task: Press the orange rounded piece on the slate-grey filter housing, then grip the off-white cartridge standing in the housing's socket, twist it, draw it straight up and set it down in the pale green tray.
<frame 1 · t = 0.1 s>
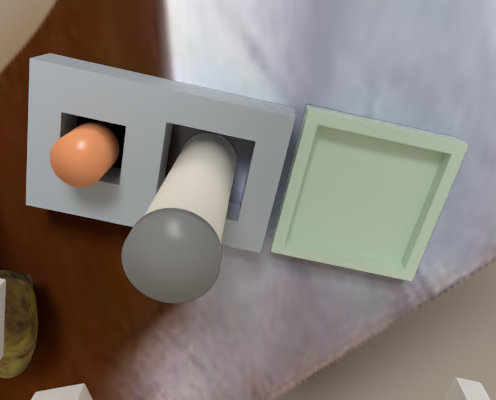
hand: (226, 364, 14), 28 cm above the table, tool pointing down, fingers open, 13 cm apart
tray: (359, 192, 41), on the table
cartridge: (208, 159, 41), resting in housing
orange rounded piece: (86, 153, 36), point 5 cm above the table, slide at 0.0 cm
potato: (20, 300, 48), on the table
housing: (163, 150, 40), on the table
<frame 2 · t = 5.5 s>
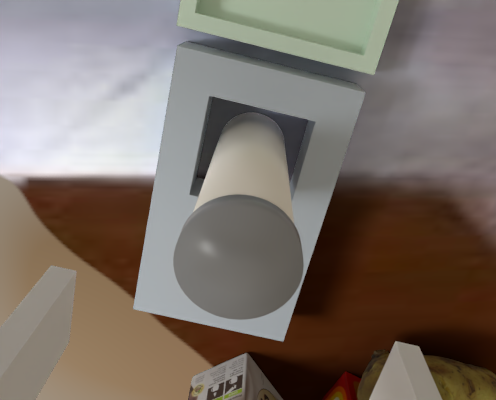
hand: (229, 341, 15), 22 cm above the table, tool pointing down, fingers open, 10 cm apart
cartridge: (251, 144, 35), resting in housing
potato: (418, 361, 42), on the table
coffee box: (244, 395, 44), on the table
housing: (239, 193, 36), on the table
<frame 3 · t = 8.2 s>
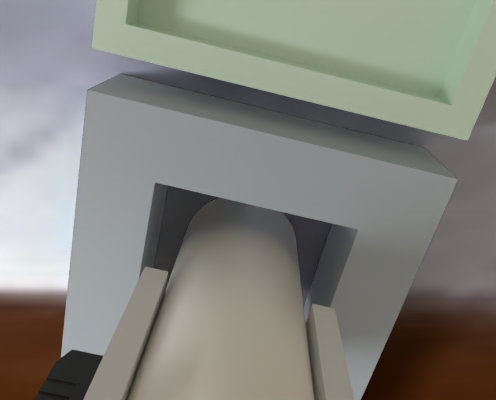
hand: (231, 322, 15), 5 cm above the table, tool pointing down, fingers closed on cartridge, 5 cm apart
cartridge: (240, 245, 20), resting in housing, touching gripper
housing: (221, 319, 22), on the table
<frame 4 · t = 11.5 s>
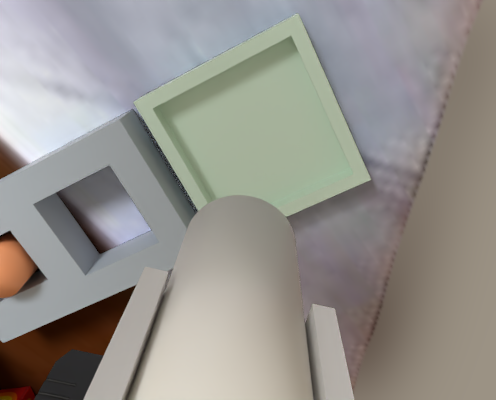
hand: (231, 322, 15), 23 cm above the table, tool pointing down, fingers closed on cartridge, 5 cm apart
tray: (255, 134, 36), on the table
cartridge: (240, 246, 20), point 18 cm above the table, touching gripper
orange rounded piece: (8, 263, 38), point 3 cm above the table, slide at 1.7 cm
housing: (71, 224, 40), on the table
when the fingers open (7 cm above the table, at t = 14.8 s): cartridge stays where it is, resting on tray.
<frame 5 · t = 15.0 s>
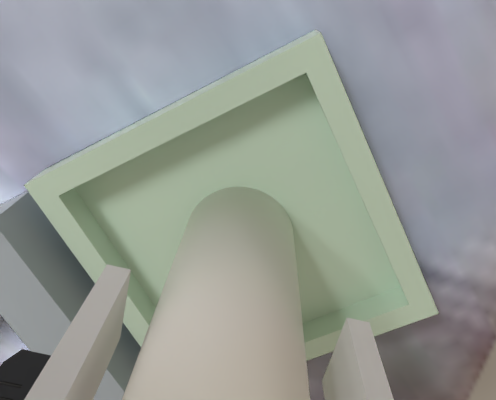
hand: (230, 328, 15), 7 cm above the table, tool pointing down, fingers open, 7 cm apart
tray: (242, 230, 22), on the table
cartridge: (239, 236, 21), point 1 cm above the table, touching tray
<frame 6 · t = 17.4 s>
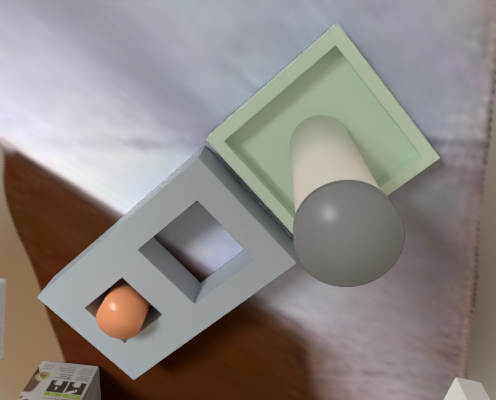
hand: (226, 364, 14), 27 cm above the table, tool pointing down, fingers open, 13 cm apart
tray: (320, 142, 39), on the table
cartridge: (319, 144, 38), point 1 cm above the table, touching tray
orange rounded piece: (125, 307, 43), point 3 cm above the table, slide at 1.7 cm
coffee box: (74, 393, 51), on the table
housing: (170, 260, 44), on the table
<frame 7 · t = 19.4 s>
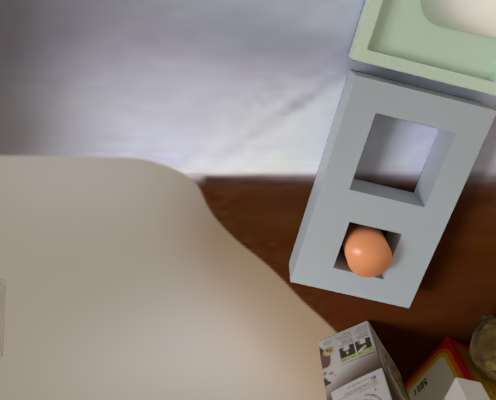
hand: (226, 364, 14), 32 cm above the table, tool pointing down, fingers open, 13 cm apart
orange rounded piece: (365, 248, 44), point 3 cm above the table, slide at 1.7 cm
baking soda box: (443, 375, 54), on the table
coffee box: (359, 357, 53), on the table
housing: (376, 189, 45), on the table
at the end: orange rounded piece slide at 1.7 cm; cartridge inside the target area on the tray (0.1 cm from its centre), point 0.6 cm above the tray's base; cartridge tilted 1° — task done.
